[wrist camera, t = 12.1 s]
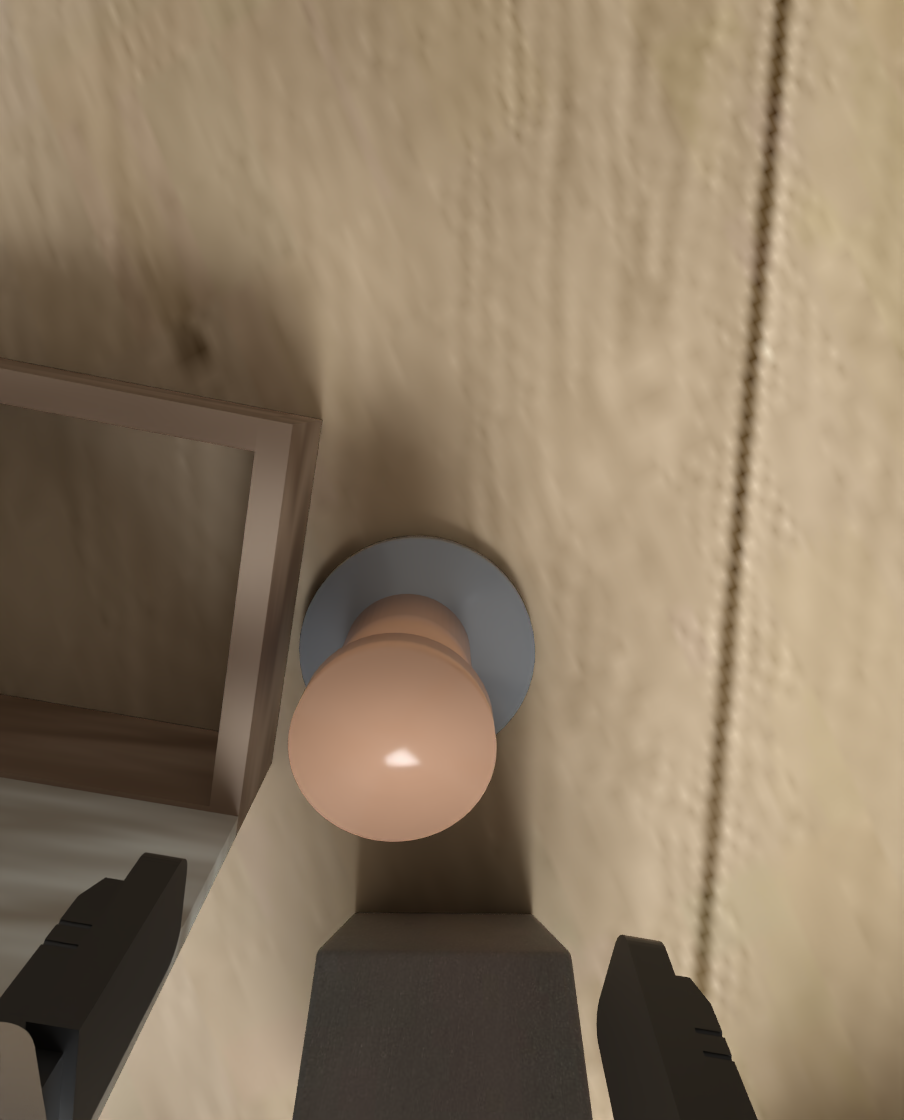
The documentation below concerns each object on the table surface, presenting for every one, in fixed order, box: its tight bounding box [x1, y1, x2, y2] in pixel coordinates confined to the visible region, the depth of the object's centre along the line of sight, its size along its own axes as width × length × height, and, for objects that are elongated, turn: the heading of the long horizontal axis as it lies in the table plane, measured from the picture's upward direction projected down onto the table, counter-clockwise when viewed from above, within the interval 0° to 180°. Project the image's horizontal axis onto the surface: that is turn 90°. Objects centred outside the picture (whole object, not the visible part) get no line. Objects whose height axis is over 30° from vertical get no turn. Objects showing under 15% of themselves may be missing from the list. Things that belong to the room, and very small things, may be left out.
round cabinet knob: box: [288, 594, 497, 842], centre depth 23 cm, size 6×6×8 cm
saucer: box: [299, 536, 535, 734], centre depth 27 cm, size 9×9×1 cm
